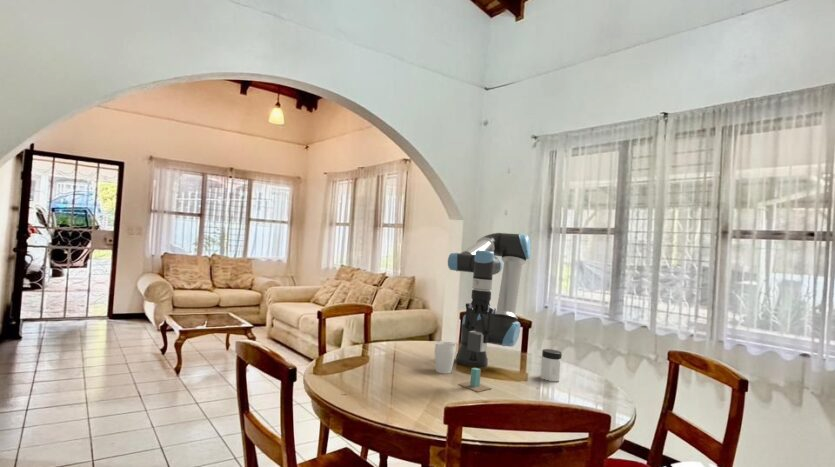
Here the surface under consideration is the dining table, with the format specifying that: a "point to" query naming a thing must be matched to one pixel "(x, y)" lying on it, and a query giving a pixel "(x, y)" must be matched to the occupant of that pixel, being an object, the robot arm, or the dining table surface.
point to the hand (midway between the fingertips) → (476, 349)
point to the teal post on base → (475, 381)
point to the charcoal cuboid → (474, 341)
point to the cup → (444, 356)
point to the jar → (550, 365)
